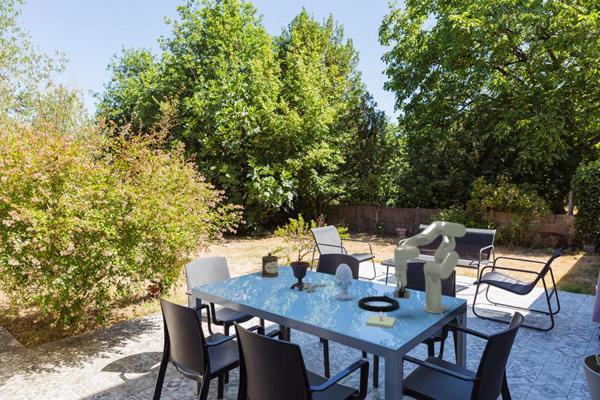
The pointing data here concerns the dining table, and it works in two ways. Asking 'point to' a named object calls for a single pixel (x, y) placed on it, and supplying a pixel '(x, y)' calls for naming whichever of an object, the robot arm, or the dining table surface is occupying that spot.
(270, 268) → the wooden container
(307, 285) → the pulley system
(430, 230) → the robot arm
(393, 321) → the keeper board
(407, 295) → the grey rectangular frame
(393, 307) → the cable lock
